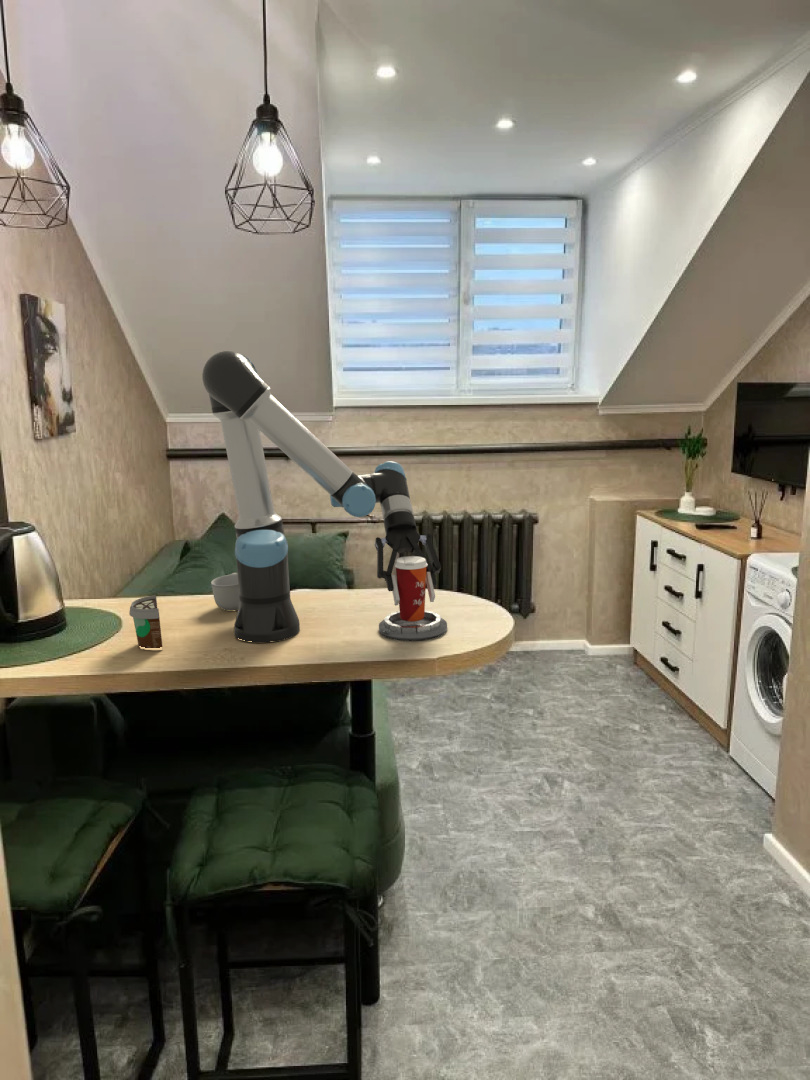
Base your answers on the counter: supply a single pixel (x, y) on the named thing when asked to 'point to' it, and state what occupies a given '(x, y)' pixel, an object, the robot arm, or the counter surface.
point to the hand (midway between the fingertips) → (415, 600)
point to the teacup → (226, 591)
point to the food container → (147, 622)
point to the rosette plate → (412, 627)
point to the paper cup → (411, 587)
